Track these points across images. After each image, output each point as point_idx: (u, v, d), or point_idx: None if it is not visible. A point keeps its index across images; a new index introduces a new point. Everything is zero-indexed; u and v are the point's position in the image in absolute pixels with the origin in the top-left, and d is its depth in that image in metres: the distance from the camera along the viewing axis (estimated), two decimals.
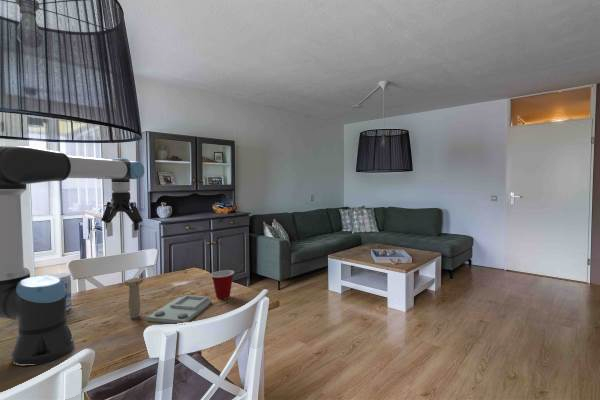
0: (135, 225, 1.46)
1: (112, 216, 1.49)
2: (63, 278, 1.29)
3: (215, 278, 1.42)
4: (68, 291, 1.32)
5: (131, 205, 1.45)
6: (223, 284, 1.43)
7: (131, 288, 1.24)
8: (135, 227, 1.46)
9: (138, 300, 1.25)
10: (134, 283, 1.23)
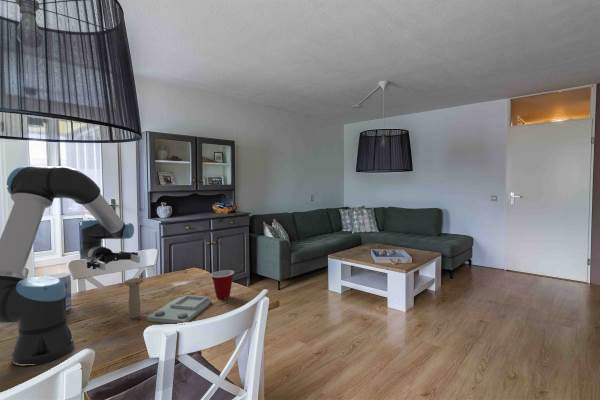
0: None
1: None
2: (63, 278, 1.29)
3: (215, 278, 1.42)
4: (68, 291, 1.32)
5: (121, 252, 1.44)
6: (223, 284, 1.43)
7: (131, 288, 1.24)
8: None
9: (138, 300, 1.25)
10: (134, 283, 1.23)
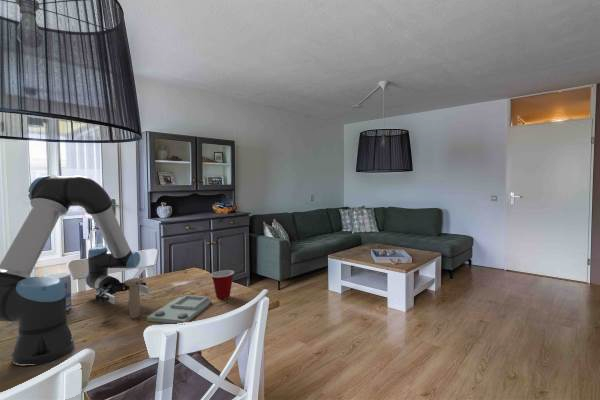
0: None
1: (107, 293, 1.30)
2: (63, 278, 1.29)
3: (215, 278, 1.42)
4: (68, 291, 1.32)
5: None
6: (223, 284, 1.43)
7: (131, 288, 1.24)
8: (144, 286, 1.37)
9: (138, 300, 1.25)
10: (134, 283, 1.23)
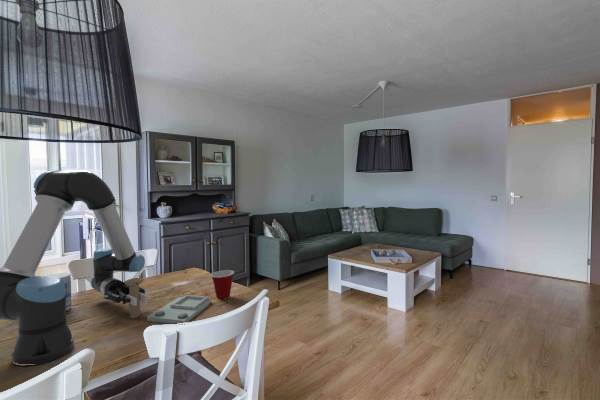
0: (141, 293, 1.28)
1: None
2: (63, 278, 1.29)
3: (215, 278, 1.42)
4: (68, 291, 1.32)
5: None
6: (223, 284, 1.43)
7: (131, 288, 1.24)
8: (142, 293, 1.27)
9: (138, 300, 1.25)
10: (134, 283, 1.23)
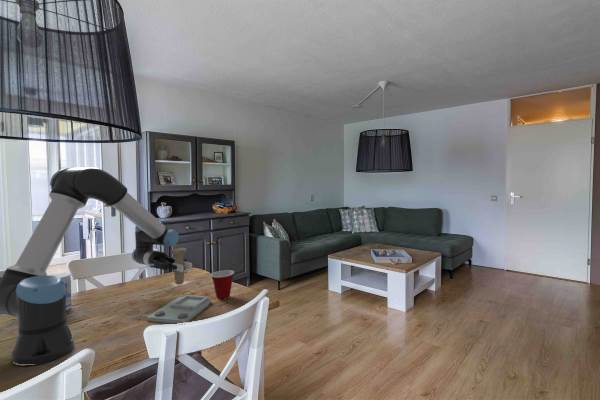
0: None
1: None
2: (63, 278, 1.29)
3: (215, 278, 1.42)
4: (68, 291, 1.32)
5: None
6: (223, 284, 1.43)
7: (177, 256, 1.33)
8: None
9: (183, 268, 1.34)
10: (180, 251, 1.32)
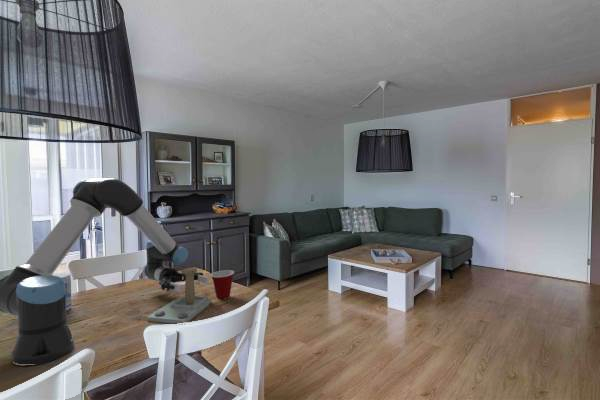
0: None
1: (171, 282, 1.36)
2: (63, 278, 1.29)
3: (215, 278, 1.42)
4: (68, 291, 1.32)
5: None
6: (223, 284, 1.43)
7: (187, 276, 1.34)
8: None
9: (193, 287, 1.36)
10: (190, 272, 1.34)
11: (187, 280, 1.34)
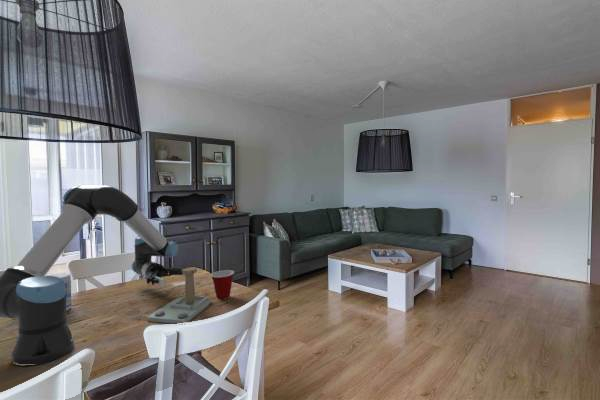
0: None
1: (156, 277, 1.43)
2: (63, 278, 1.29)
3: (215, 278, 1.42)
4: (68, 291, 1.32)
5: (172, 267, 1.55)
6: (223, 284, 1.43)
7: (187, 276, 1.34)
8: None
9: (193, 287, 1.36)
10: (190, 272, 1.34)
11: (187, 280, 1.34)
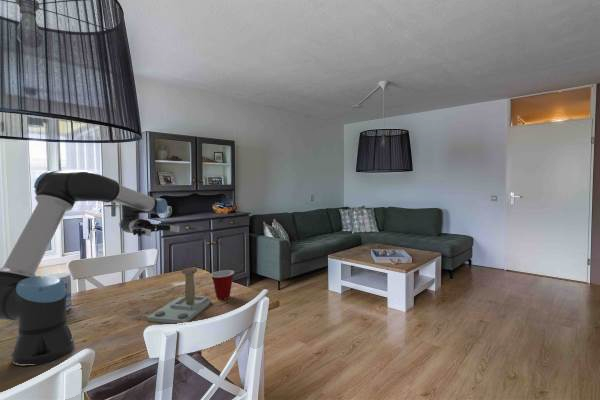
0: None
1: None
2: (63, 278, 1.29)
3: (215, 278, 1.42)
4: (68, 291, 1.32)
5: (160, 224, 1.55)
6: (223, 284, 1.43)
7: (187, 276, 1.34)
8: None
9: (193, 288, 1.36)
10: (190, 272, 1.33)
11: (187, 280, 1.34)
